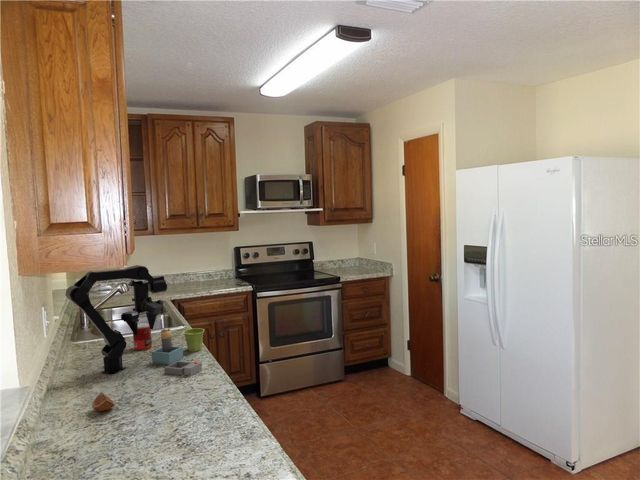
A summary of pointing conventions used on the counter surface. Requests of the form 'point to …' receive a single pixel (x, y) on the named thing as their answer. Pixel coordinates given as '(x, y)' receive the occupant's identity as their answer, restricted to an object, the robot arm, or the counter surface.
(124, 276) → the robot arm
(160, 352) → the bin
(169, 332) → the battery cell
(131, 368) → the counter surface
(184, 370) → the tester
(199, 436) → the counter surface
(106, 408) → the brown lump
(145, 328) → the canned food
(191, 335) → the plant pot
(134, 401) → the counter surface
